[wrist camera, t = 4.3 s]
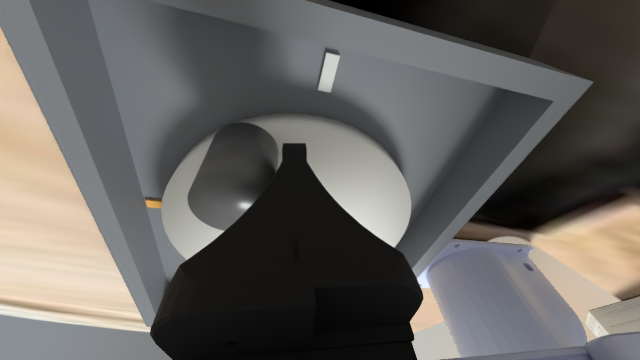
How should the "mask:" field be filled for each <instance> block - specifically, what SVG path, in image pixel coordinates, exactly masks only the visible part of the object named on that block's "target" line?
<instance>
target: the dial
mask: <svg viewBox="0 0 640 360" xmlns="http://www.w3.org/2000/svg"><path fill="white" fill-rule="evenodd" d="M283 143H306V149H307V162H308V164H309V165H310V167H311V169H312V170H313V172H314V174H315V175H316V176H317V178H318V179H319V181H320V182H321V183H322V185H323V186H324V187H325V189H326V190H327V191H328V192H329V194H330V195H331V196H332V197H333V198H334V199H335V200H336V201H337V202H338V204H339V205H340V206H341V207H342V208H343V209H344V210H345V211H346V212H348V213H349V214H350V215H351V216H352V217H353V218H354V219H356V220H357V221H358V222H359V223H360V224H361V225H362V226H364V227H365V228H366V229H368V230H369V231H370V232H372V233H373V234H374V235H376V236H377V237H379V238H380V239H382V240H383V241H385V242H386V243H388V244H389V245H391V246H392V247H395V246H396V245H397V244H398V242H399V241H400V239H401V238H402V236H403V235H404V233H405V231H406V228H407V226H408V224H409V219H410V215H411V198H410V192H409V189H408V186H407V184H406V181H405V179H404V177H403V175H402V174H401V172H400V170H399V168H398V166H397V165H396V163H395V161H394V160H393V158H392V157H391V155H390V154H389V153H388V152H387V151H386V150H385V149H384V147H383V146H382V145H381V144H379V143H378V142H377V141H376V140H374V139H373V138H372V137H371V136H369V135H368V134H366V133H364V132H362V131H361V130H359V129H357V128H355V127H353V126H351V125H348V124H346V123H343V122H341V121H338V120H334V119H330V118H327V117H323V116H318V115H310V114H302V113H276V114H268V115H259V116H255V117H251V118H247V119H243V120H239V121H237V122H234V123H232V124H228V125H226V126H224V127H222V128H220V129H218V130H216V131H215V132H213V133H211V134H209V135H208V136H206V137H205V138H203V139H202V140H201V141H200V142H198V143H197V144H196V145H195V146H193V147H192V148H191V150H190V151H189V152H188V153H187V154H186V155H185V156H184V157H183V159H182V161H181V162H180V164H179V165H178V167H177V169H176V170H175V172H174V174H173V176H172V177H171V179H170V181H169V183H168V184H167V186H166V189H165V192H164V195H163V198H162V206H161V215H162V223H163V226H164V229H165V232H166V234H167V236H168V238H169V240H170V241H171V243H172V244H173V246H174V247H175V248H176V250H177V251H178V252H179V253H180V254H181V255H182V256H183V257H184V258H185V259H186V260H188V259H189V258H190V257H192V256H193V255H195V254H196V253H197V252H199V251H200V250H201V249H203V248H204V247H206V246H207V245H208V244H210V243H211V242H212V241H213V240H215V239H216V238H217V237H218V236H219V235H220V234H222V233H223V232H224V231H225V230H226V229H227V228H229V227H230V226H231V225H232V224H233V223H234V222H235V221H236V220H237V219H239V218H240V217H241V216H242V215H243V214H244V212H245V211H246V210H247V209H248V208H249V207H250V206H251V205H252V204H253V203H254V202H255V200H256V199H257V198H258V197H259V196H260V194H261V193H262V192H263V191H264V189H265V188H266V187H267V185H268V184H269V182H270V181H271V179H272V178H273V176H274V175H275V173H276V171H277V170H278V168H279V166H280V164H281V162H282V146H283Z"/></svg>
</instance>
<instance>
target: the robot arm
mask: <svg viewBox="0 0 640 360" xmlns="http://www.w3.org/2000/svg"><path fill="white" fill-rule="evenodd" d="M532 251H533V248H532V247H531V246H530V245H522V244H509V243H496V242H485V241H473V240H460V239H451V240H450V242H449V243H448V244H447V245H446V246H445V247H444V248H443V249H442V250H441V252H440V253H439V254H438V255H437V256H436V257H435V258H434V259H433V260H432V262H431V263H430V264H429V265H428V266H427V267H426V268H425V269H424V270H423V271H422V273H421V274H420V275H419V276H418V277H417V278H416V276H415V274H414V272H413V270H412V268H411V267H410V265H409V263H408V261H407V259H406V258H405V256H404V254H403V253H401V252H400V251H398V250H397V249H395V248H394V247H392V246H391V245H389V244H388V243H386V242H385V241H383V240H382V239H380V238H379V237H377V236H376V235H374V234H373V233H372V232H370V231H369V230H368V229H366V228H365V227H364V226H362V225H361V224H360V223H359V222H358V221H357V220H356V219H354V218H353V217H352V216H351V215H350V214H349V213H348V212H346V211H345V210H344V209H343V208H342V207H341V206H340V205H339V204H338V202H337V201H336V200H335V199H334V198H333V197H332V196H331V195H330V194H329V192H328V191H327V190H326V189H325V187H324V186H323V185H322V183H321V182H320V181H319V179H318V178H317V176H316V175H315V174H314V172H313V170H312V169H311V167H310V165H309V164H308V162H307V149H306V143H283V146H282V162H281V164H280V166H279V168H278V170H277V171H276V173H275V175H274V176H273V178H272V179H271V181H270V182H269V184H268V185H267V187H266V188H265V189H264V191H263V192H262V193H261V194H260V196H259V197H258V198H257V199H256V200H255V202H254V203H253V204H252V205H251V206H250V207H249V208H248V209H247V210H246V211H245V212H244V214H243V215H242V216H241V217H240V218H239V219H237V220H236V221H235V222H234V223H233V224H232V225H231V226H230V227H229V228H227V229H226V230H225V231H224V232H223V233H222V234H220V235H219V236H218V237H217V238H216V239H215V240H213V241H212V242H211V243H210V244H208V245H207V246H206V247H204V248H203V249H201V250H200V251H199V252H197V253H196V254H195V255H193V256H192V257H190V258H189V259H188V260H186V261H185V262H183V263H182V264H180V265H179V267H178V269H177V271H176V272H175V274H174V276H173V278H172V280H171V282H170V284H169V285H168V287H167V289H166V291H165V293H164V296H163V298H162V301H161V303H160V306H159V309H158V311H157V314H156V316H155V319H154V321H153V324H152V326H151V331H150V335H151V337H152V338H153V340H154V341H155V343H156V344H157V345H158V346H159V347H160V348H161V349H162V350H163V351H164V352H165V353H166V354H167V355H168V356H169V357H170V358H172V359H173V360H417V357H416V354H415V351H414V348H413V346H412V342H411V341H413V340H414V334H413V331H412V328H411V325H410V320H411V319H412V317H413V316H414V315H415V313H416V312H417V310H418V309H419V307H420V305H421V303H422V301H423V293H422V290H421V288H431V290H432V293H433V295H434V297H435V300H436V302H437V304H438V306H439V309H440V311H441V313H442V315H443V318H444V320H445V322H446V324H447V327H448V329H449V331H450V334H451V336H452V338H453V340H454V343H455V345H456V347H457V349H458V352H459V354H460V356H461V358H453V359H442V360H640V331H639V332H628V333H617V334H610V335H605V336H601V337H599V338H596V339H594V340H591V341H589V342H587V336H586V333H585V330H584V327H583V325H582V323H581V321H580V319H579V318H578V316H577V315H576V313H575V312H574V311H573V310H572V308H571V307H570V306H569V305H568V304H567V302H566V301H565V300H564V299H563V298H562V297H561V295H560V294H559V293H558V292H557V290H556V289H555V288H554V287H553V286H552V284H551V283H550V282H549V281H548V280H547V278H546V277H545V276H544V275H543V274H542V272H541V271H540V270H539V269H538V267H537V266H536V265H535V264H534V263H533V262H532V260H531V259H530V258H529V257H528V254H529V253H531V252H532Z"/></svg>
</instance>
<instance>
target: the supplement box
mask: <svg viewBox="0 0 640 360" xmlns="http://www.w3.org/2000/svg"><path fill="white" fill-rule="evenodd" d="M585 323H586V325H587V326H588V327H589V328H590V329H591V331H592V332H593V333H594V334H595V335H596V336H597V338H599V337H601V336H605V335H610V334H617V333H628V332H639V331H640V296H638V297H635V298H632V299H628V300H624V301H621V302H617V303H614V304H610V305H607V306H603V307H600V308H596V309H592V310H589V311H588V314H587V317H586V321H585Z"/></svg>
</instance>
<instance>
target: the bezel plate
mask: <svg viewBox="0 0 640 360" xmlns="http://www.w3.org/2000/svg"><path fill="white" fill-rule="evenodd" d="M0 27H1V29H2V31H3V33H4V35H5V37H6V39H7V41H8V43H9V45H10V47H11V49H12V51H13V53H14V55H15V58H16V60H17V62H18V64H19V66H20V68H21V70H22V72H23V74H24V76H25V78H26V80H27V82H28V84H29V86H30V88H31V90H32V92H33V94H34V97H35V99H36V101H37V103H38V105H39V107H40V109H41V111H42V113H43V115H44V117H45V119H46V121H47V123H48V125H49V127H50V129H51V131H52V133H53V136H54V138H55V140H56V142H57V144H58V146H59V148H60V150H61V152H62V154H63V156H64V158H65V160H66V162H67V164H68V166H69V168H70V170H71V172H72V175H73V177H74V179H75V181H76V183H77V185H78V187H79V189H80V191H81V193H82V195H83V197H84V199H85V201H86V203H87V205H88V207H89V209H90V211H91V214H92V216H93V218H94V220H95V222H96V224H97V226H98V228H99V230H100V232H101V234H102V236H103V238H104V240H105V242H106V244H107V246H108V248H109V251H110V253H111V255H112V257H113V259H114V261H115V263H116V265H117V267H118V269H119V271H120V273H121V275H122V277H123V279H124V281H125V283H126V285H127V287H128V290H129V292H130V294H131V296H132V298H133V300H134V302H135V304H136V306H137V308H138V310H139V312H140V314H141V316H142V318H143V320H144V322H145V324H146V326H147V327H151V326H152V324H153V321H154V319H155V316H156V314H157V311H158V309H159V306H160V303H161V301H162V298H163V296H164V293H165V291H166V289H167V287H168V285H169V284H170V282H171V280H172V278H173V276H174V274H175V272H176V271H177V269H178V267H179V265H180V264H182V263H183V262H185V261H186V259H185V258H184V257H183V256H182V255H181V254H180V253H179V252H178V251H177V250H176V248H175V247H174V246H173V244H172V243H171V241H170V240H169V238H168V236H167V234H166V232H165V229H164V226H163V223H162V215H161V206H162V198H163V195H164V192H165V189H166V186H167V184H168V183H169V181H170V179H171V177H172V176H173V174H174V172H175V170H176V169H177V167H178V165H179V164H180V162H181V161H182V159H183V157H184V156H185V155H186V154H187V153H188V152H189V151H190V150H191V148H192V147H193V146H195V145H196V144H197V143H198V142H200V141H201V140H202V139H203V138H205V137H206V136H208V135H209V134H211V133H213V132H215V131H216V130H218V129H220V128H222V127H224V126H226V125H228V124H232V123H234V122H237V121H239V120H243V119H247V118H251V117H255V116H259V115H268V114H276V113H302V114H310V115H318V116H323V117H327V118H330V119H334V120H338V121H341V122H343V123H346V124H348V125H351V126H353V127H355V128H357V129H359V130H361V131H362V132H364V133H366V134H368V135H369V136H371V137H372V138H373V139H374V140H376V141H377V142H378V143H379V144H381V145H382V146H383V147H384V149H385V150H386V151H387V152H388V153H389V154H390V155H391V157H392V158H393V160H394V161H395V163H396V165H397V166H398V168H399V170H400V172H401V174H402V175H403V177H404V179H405V181H406V184H407V186H408V189H409V192H410V198H411V215H410V219H409V224H408V226H407V228H406V231H405V233H404V235H403V236H402V238H401V239H400V241H399V242H398V244H397V245H396V246H395V247H394V248H395V249H397V250H398V251H400V252H401V253H403V254H404V256H405V258H406V259H407V261H408V263H409V265H410V267H411V268H412V270H413V272H414V274H415V276H416V278H417V277H418V276H419V275H420V274H421V273H422V271H423V270H424V269H425V268H426V267H427V266H428V265H429V264H430V263H431V262H432V260H433V259H434V258H435V257H436V256H437V255H438V254H439V253H440V252H441V250H442V249H443V248H444V247H445V246H446V245H447V244H448V243H449V242H450V240H451V239H452V238H453V237H454V236H455V235H456V234H457V233H458V232H459V231H460V229H461V228H462V227H463V226H464V225H465V224H466V223H467V222H468V221H469V219H470V218H471V217H472V216H473V215H474V214H475V213H476V212H477V211H478V210H479V208H480V207H481V206H482V205H483V204H484V203H485V202H486V201H487V200H488V198H489V197H490V196H491V195H492V194H493V193H494V192H495V191H496V190H497V188H498V187H499V186H500V185H501V184H502V183H503V182H504V181H505V180H506V179H507V177H508V176H509V175H510V174H511V173H512V172H513V171H514V170H515V169H516V167H517V166H518V165H519V164H520V163H521V162H522V161H523V160H524V159H525V157H526V156H527V155H528V154H529V153H530V152H531V151H532V150H533V149H534V148H535V146H536V145H537V144H538V143H539V142H540V141H541V140H542V139H543V138H544V136H545V135H546V134H547V133H548V132H549V131H550V130H551V129H552V128H553V127H554V125H555V124H556V123H557V122H558V121H559V120H560V119H561V118H562V117H563V115H564V114H565V113H566V112H567V111H568V110H569V109H570V108H571V107H572V105H573V104H574V103H575V102H576V101H577V100H578V99H579V98H580V97H581V96H582V94H583V93H584V92H585V91H586V90H587V89H588V88H589V87H590V86H591V84H592V83H593V81H590V80H587V79H584V78H582V77H579V76H576V75H574V74H571V73H568V72H565V71H563V70H560V69H557V68H555V67H552V66H549V65H546V64H544V63H541V62H538V61H535V60H533V59H530V58H527V57H523V56H520V55H516V54H513V53H509V52H506V51H503V50H499V49H496V48H492V47H489V46H485V45H482V44H478V43H475V42H471V41H468V40H464V39H461V38H457V37H454V36H450V35H447V34H444V33H440V32H437V31H433V30H430V29H426V28H423V27H419V26H416V25H412V24H409V23H405V22H402V21H398V20H395V19H391V18H388V17H385V16H381V15H378V14H374V13H371V12H367V11H364V10H360V9H357V8H353V7H350V6H346V5H343V4H339V3H336V2H333V1H329V0H0Z"/></svg>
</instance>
